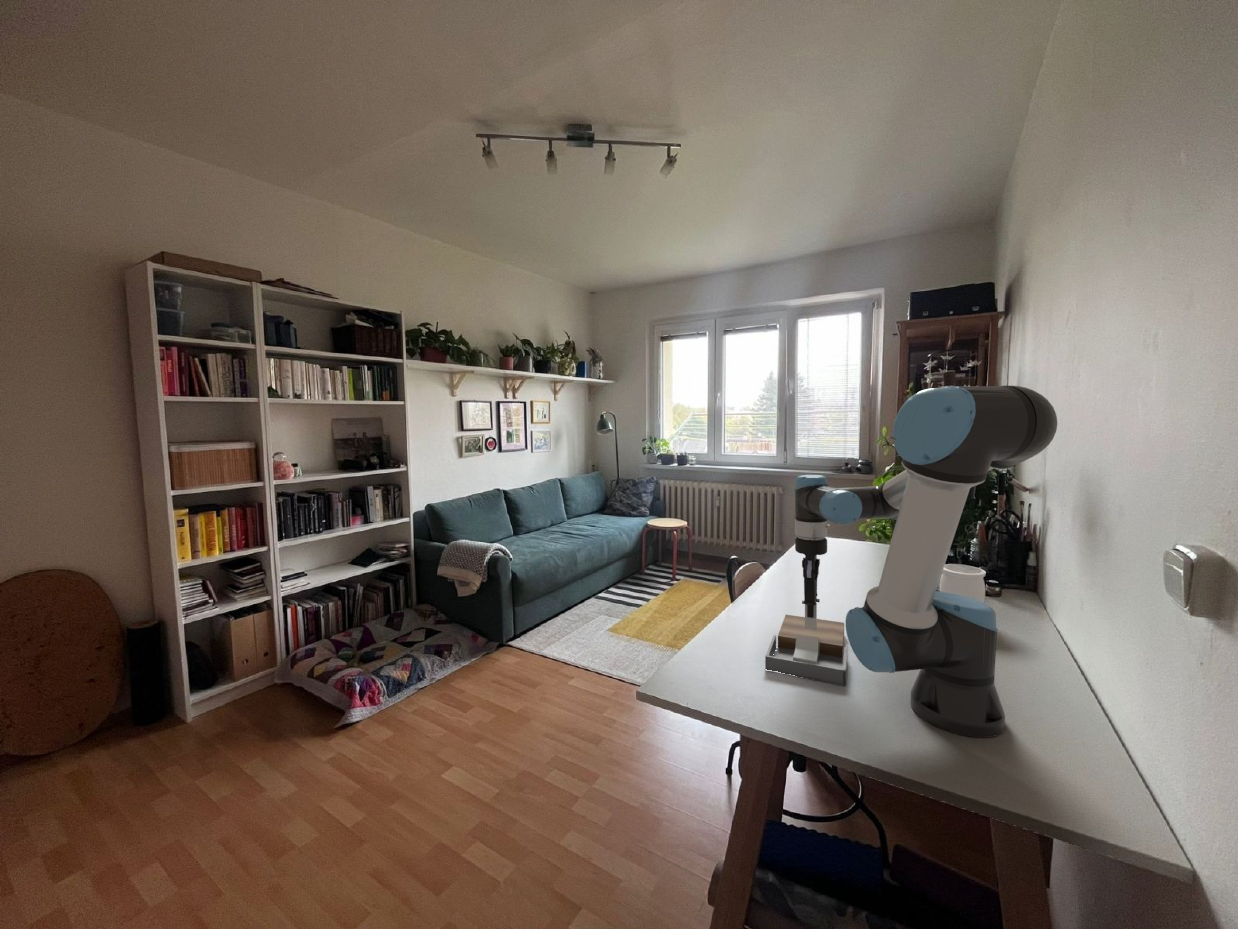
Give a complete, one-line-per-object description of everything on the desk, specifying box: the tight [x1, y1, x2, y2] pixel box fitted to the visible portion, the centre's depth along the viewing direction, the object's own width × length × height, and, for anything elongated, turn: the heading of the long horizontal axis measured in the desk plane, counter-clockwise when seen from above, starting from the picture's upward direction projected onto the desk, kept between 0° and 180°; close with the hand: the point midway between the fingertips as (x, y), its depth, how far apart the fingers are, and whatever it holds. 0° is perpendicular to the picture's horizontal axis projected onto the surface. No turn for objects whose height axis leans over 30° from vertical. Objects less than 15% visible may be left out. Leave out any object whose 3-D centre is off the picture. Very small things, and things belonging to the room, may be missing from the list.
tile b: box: [795, 634, 820, 659], centre depth 118 cm, size 5×5×4 cm
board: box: [777, 614, 845, 658], centre depth 128 cm, size 15×15×4 cm
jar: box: [939, 563, 987, 603], centre depth 138 cm, size 11×10×15 cm
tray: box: [764, 634, 848, 687], centre depth 115 cm, size 12×17×4 cm
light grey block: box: [793, 648, 818, 664], centre depth 113 cm, size 5×5×4 cm
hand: (810, 628), depth 124 cm, fingers closed
